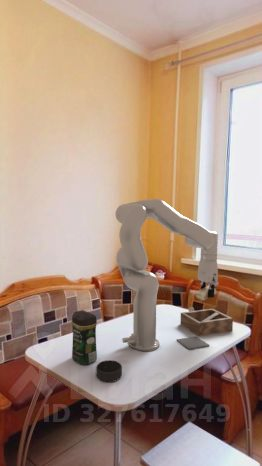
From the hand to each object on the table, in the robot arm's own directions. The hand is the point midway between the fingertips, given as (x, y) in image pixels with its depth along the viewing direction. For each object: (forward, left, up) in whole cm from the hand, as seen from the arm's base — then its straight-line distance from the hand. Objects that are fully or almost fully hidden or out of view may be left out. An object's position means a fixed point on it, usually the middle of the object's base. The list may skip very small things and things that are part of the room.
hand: (207, 295), depth 155 cm
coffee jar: (-62, -9, -17) cm, 64 cm away
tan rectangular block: (0, 0, 0) cm, 0 cm away
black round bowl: (-57, -24, -17) cm, 64 cm away
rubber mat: (-15, -11, -17) cm, 25 cm away
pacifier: (+1, +17, -17) cm, 24 cm away
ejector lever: (+2, +3, -14) cm, 15 cm away
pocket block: (+2, +3, -17) cm, 17 cm away
